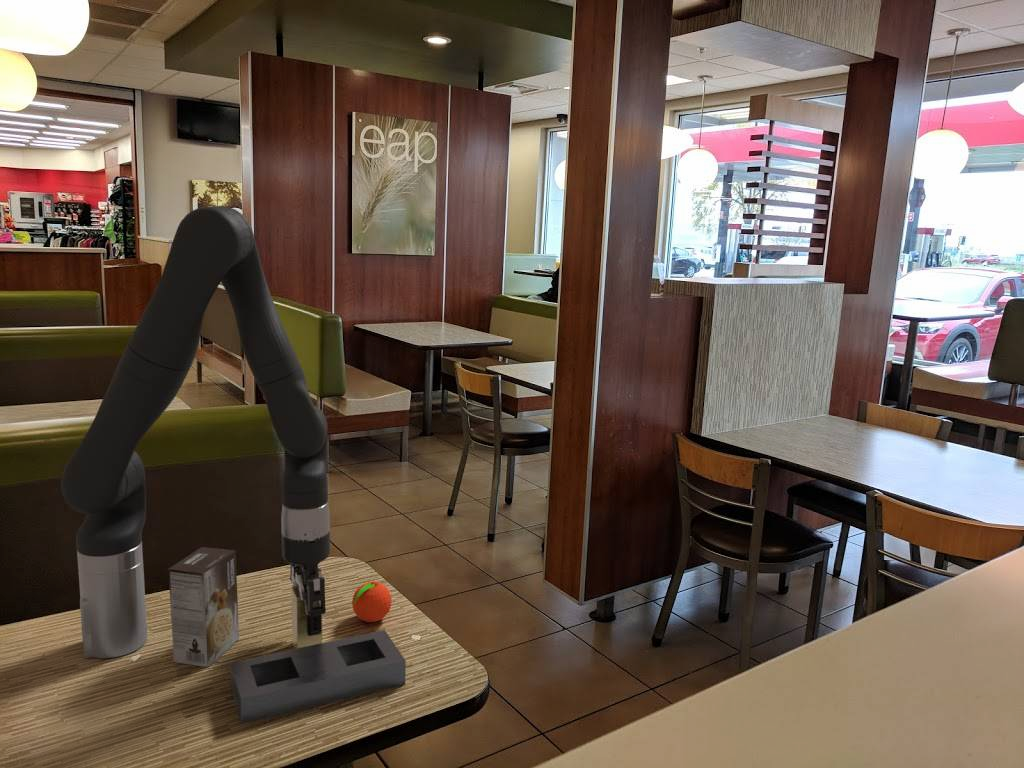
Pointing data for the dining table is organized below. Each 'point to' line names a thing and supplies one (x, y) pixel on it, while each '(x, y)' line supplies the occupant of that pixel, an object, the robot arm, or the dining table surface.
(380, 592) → the clementine
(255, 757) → the dining table surface
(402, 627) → the dining table surface
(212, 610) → the coffee box
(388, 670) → the rail
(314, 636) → the peg
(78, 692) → the dining table surface
